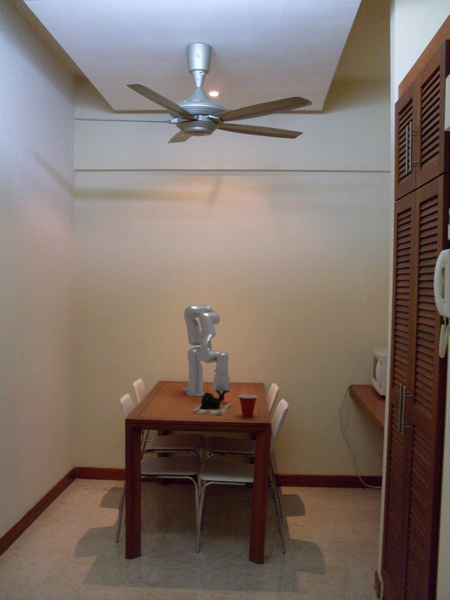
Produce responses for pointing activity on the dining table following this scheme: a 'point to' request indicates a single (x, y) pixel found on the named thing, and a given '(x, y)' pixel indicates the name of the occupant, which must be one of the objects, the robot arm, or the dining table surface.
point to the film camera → (209, 401)
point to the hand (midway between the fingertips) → (221, 400)
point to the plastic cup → (247, 404)
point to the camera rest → (198, 410)
